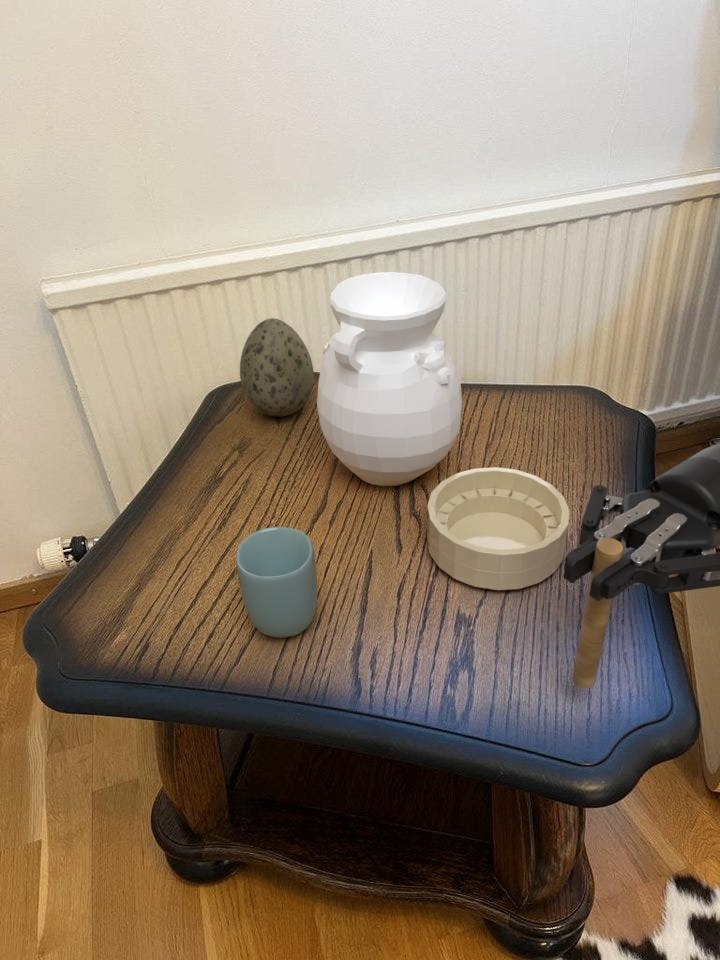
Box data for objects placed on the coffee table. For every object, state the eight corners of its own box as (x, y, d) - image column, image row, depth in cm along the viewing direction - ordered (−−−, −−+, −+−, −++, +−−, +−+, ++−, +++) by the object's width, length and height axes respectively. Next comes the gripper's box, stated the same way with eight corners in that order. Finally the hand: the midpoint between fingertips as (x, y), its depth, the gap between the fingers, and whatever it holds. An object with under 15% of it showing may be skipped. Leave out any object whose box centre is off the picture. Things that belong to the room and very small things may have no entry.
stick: (598, 677, 69) (626, 542, 59) (590, 692, 67) (618, 557, 58) (576, 668, 70) (601, 534, 60) (568, 683, 68) (592, 548, 59)
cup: (323, 595, 84) (316, 525, 78) (318, 649, 77) (310, 578, 71) (253, 595, 84) (241, 526, 78) (242, 650, 78) (228, 579, 72)
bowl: (582, 532, 90) (589, 492, 87) (530, 614, 80) (535, 573, 76) (464, 492, 97) (466, 453, 94) (403, 563, 87) (402, 523, 84)
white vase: (402, 528, 92) (401, 340, 77) (294, 474, 102) (274, 299, 87) (486, 458, 103) (499, 282, 89) (381, 416, 113) (377, 251, 99)
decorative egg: (294, 387, 122) (285, 298, 113) (330, 415, 114) (323, 323, 105) (234, 408, 117) (219, 318, 108) (266, 439, 110) (253, 344, 101)
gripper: (652, 427, 69) (519, 501, 61) (801, 497, 60) (667, 595, 52) (638, 493, 74) (512, 570, 66) (775, 567, 64) (648, 668, 56)
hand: (581, 581), depth 59 cm, fingers closed on stick, 2 cm apart
